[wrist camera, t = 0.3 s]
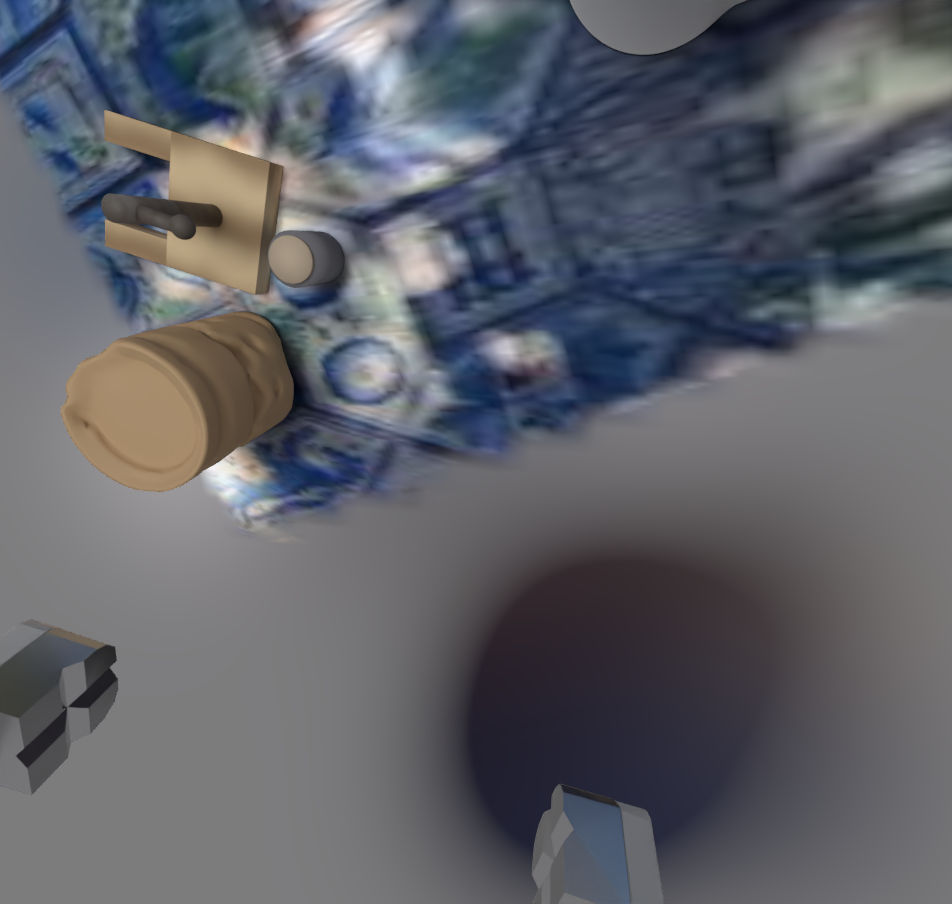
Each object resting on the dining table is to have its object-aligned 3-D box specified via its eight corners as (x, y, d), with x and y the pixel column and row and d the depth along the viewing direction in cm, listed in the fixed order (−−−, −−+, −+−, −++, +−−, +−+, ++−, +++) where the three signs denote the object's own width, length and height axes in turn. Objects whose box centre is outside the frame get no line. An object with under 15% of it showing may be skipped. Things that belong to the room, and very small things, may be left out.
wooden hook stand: (125, 116, 50) (-33, 70, 36) (286, 167, 49) (185, 139, 36) (124, 245, 55) (-16, 247, 41) (270, 293, 54) (176, 310, 41)
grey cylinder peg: (302, 225, 51) (267, 223, 45) (348, 240, 51) (319, 239, 45) (295, 274, 53) (261, 278, 47) (339, 289, 53) (311, 295, 47)
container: (179, 363, 59) (31, 411, 42) (243, 285, 54) (105, 305, 38) (262, 444, 61) (153, 519, 45) (330, 375, 57) (236, 431, 40)
